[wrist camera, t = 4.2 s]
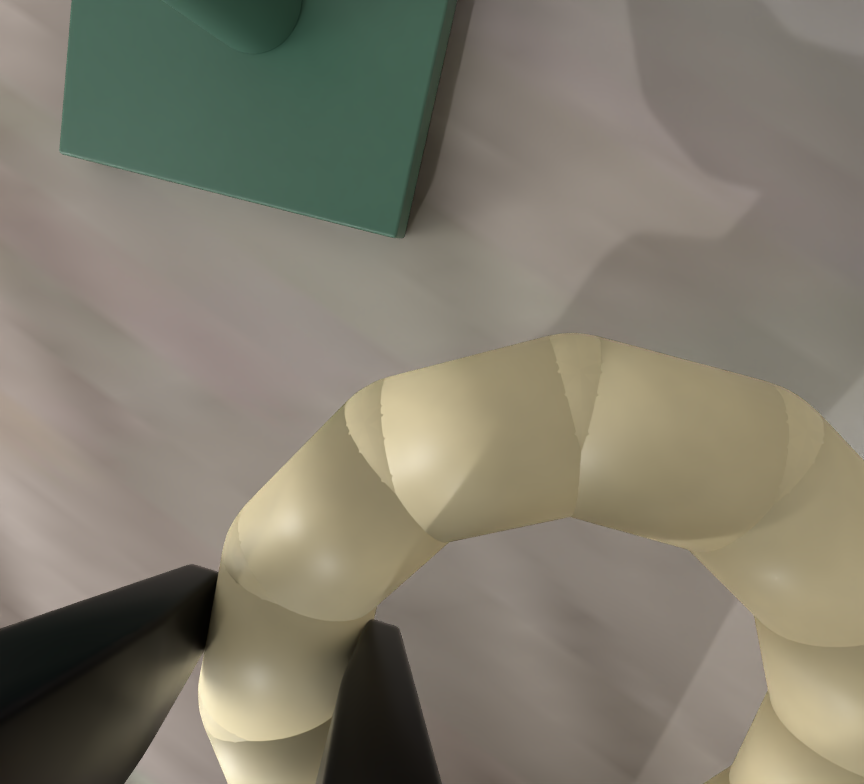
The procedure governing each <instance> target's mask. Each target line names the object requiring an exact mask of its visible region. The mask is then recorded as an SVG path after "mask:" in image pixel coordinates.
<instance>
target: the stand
mask: <svg viewBox="0 0 864 784" xmlns="http://www.w3.org/2000/svg"><path fill="white" fill-rule="evenodd" d="M456 3H457V0H72V3H71V15H70V27H69V40H68V52H67V64H66V76H65V89H64V101H63V113H62V125H61V138H60V150H59V151H60V153H62V154H63V155H67V156H71V157H75V158H79V159H83V160H87V161H91V162H95V163H99V164H103V165H107V166H111V167H115V168H119V169H123V170H127V171H131V172H135V173H139V174H143V175H147V176H150V177H154V178H158V179H162V180H166V181H170V182H174V183H178V184H182V185H186V186H190V187H194V188H198V189H202V190H206V191H210V192H214V193H218V194H222V195H226V196H230V197H234V198H237V199H241V200H245V201H249V202H253V203H257V204H261V205H265V206H269V207H273V208H277V209H281V210H285V211H289V212H293V213H297V214H301V215H305V216H309V217H313V218H317V219H320V220H324V221H328V222H332V223H336V224H340V225H344V226H348V227H352V228H356V229H360V230H364V231H368V232H372V233H376V234H380V235H384V236H388V237H392V238H404V236H405V232H406V227H407V223H408V218H409V214H410V209H411V205H412V201H413V196H414V192H415V187H416V183H417V178H418V174H419V169H420V165H421V160H422V156H423V151H424V147H425V142H426V138H427V133H428V129H429V124H430V120H431V115H432V111H433V106H434V102H435V98H436V93H437V89H438V84H439V80H440V75H441V71H442V66H443V62H444V57H445V53H446V48H447V44H448V39H449V35H450V30H451V26H452V21H453V17H454V12H455V8H456Z"/></svg>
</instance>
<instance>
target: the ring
mask: <svg viewBox="0 0 864 784" xmlns="http://www.w3.org/2000/svg"><path fill="white" fill-rule="evenodd" d="M567 517H573V518H576V519H580V520H583V521H587V522H591V523H594V524H598V525H601V526H605V527H608V528H612V529H616V530H619V531H623V532H626V533H630V534H634V535H637V536H641V537H644V538H648V539H652V540H655V541H659V542H662V543H666V544H670V545H673V546H677V547H680V548H684V549H688V550H689V551H690V552H691V553H692V554H693V555H694V556H695V557H696V558H697V559H698V560H699V561H700V562H701V563H702V564H703V565H704V566H705V567H706V568H707V569H708V570H709V571H710V572H711V573H712V574H713V575H714V576H715V577H716V578H717V579H718V580H719V581H720V582H721V583H722V584H723V585H724V586H725V587H726V588H727V589H728V590H729V591H730V592H731V593H732V594H733V595H734V596H735V597H736V598H737V599H738V600H739V601H740V602H741V603H742V604H743V605H744V606H745V607H746V608H747V609H748V610H749V611H750V612H751V613H752V614H753V615H754V618H755V624H756V629H757V634H758V639H759V645H760V650H761V655H762V661H763V666H764V671H765V676H766V682H767V687H768V691H767V693H766V695H765V697H764V699H763V701H762V703H761V706H760V708H759V710H758V712H757V714H756V716H755V718H754V720H753V722H752V724H751V727H750V729H749V731H748V733H747V735H746V737H745V739H744V741H743V743H742V745H741V748H740V750H739V752H738V754H737V756H736V758H735V760H734V762H733V764H732V765H731V766H730V767H728V768H727V769H725V770H724V771H722V772H721V773H719V774H718V775H716V776H715V777H713V778H711V779H710V780H708V781H707V782H705V783H704V784H864V460H863V459H862V458H861V457H860V456H859V455H858V454H857V453H856V452H855V451H854V450H853V449H852V448H851V446H850V445H849V444H848V443H847V442H846V441H845V440H844V439H843V438H842V437H841V436H840V435H839V434H838V433H837V432H836V431H835V430H834V428H833V427H832V426H831V425H830V424H829V423H828V422H827V421H826V420H825V419H824V418H823V417H822V416H821V415H820V414H819V413H818V412H817V411H816V410H815V409H814V408H813V407H812V406H811V405H810V404H808V403H807V402H806V401H805V400H803V399H802V398H800V397H799V396H798V395H796V394H794V393H793V392H791V391H789V390H788V389H785V388H783V387H781V386H778V385H775V384H772V383H769V382H767V381H763V380H760V379H756V378H752V377H748V376H745V375H741V374H737V373H733V372H730V371H726V370H722V369H718V368H715V367H711V366H707V365H703V364H700V363H696V362H692V361H688V360H685V359H681V358H677V357H673V356H670V355H666V354H662V353H658V352H655V351H651V350H647V349H643V348H640V347H636V346H632V345H628V344H625V343H621V342H617V341H613V340H610V339H606V338H602V337H598V336H592V335H588V334H580V333H563V334H555V335H550V336H546V337H542V338H538V339H534V340H530V341H526V342H522V343H518V344H515V345H511V346H507V347H503V348H499V349H495V350H491V351H487V352H483V353H480V354H476V355H472V356H468V357H464V358H460V359H456V360H452V361H448V362H445V363H441V364H437V365H433V366H429V367H425V368H421V369H417V370H413V371H410V372H406V373H402V374H398V375H394V376H390V377H387V378H384V379H381V380H378V381H376V382H373V383H372V384H370V385H368V386H366V387H365V388H363V389H361V390H360V391H359V392H357V393H356V394H354V395H353V396H352V397H351V398H350V399H349V400H348V401H347V402H346V403H345V404H344V405H343V406H342V407H341V408H340V409H339V410H338V411H337V412H336V413H335V414H334V415H333V416H332V417H331V418H330V419H329V420H328V421H327V422H326V423H325V424H324V425H323V426H322V427H321V428H320V429H319V430H318V431H317V432H316V433H315V434H314V435H313V436H312V437H311V438H310V439H309V440H308V441H307V442H306V444H305V445H304V446H303V447H302V448H301V449H300V450H299V451H298V452H297V453H296V454H295V455H294V456H293V457H292V458H291V459H290V460H289V461H288V462H287V463H286V464H285V465H284V466H283V467H282V468H281V469H280V470H279V471H278V472H277V473H276V474H275V475H274V476H273V477H272V478H271V479H270V480H269V481H268V482H267V483H266V484H265V485H264V486H263V487H262V488H261V489H260V490H259V491H258V492H257V494H256V495H255V496H254V497H253V498H252V499H251V500H250V501H249V502H248V503H247V504H246V505H245V506H244V507H243V509H242V510H241V511H240V512H239V514H238V515H237V517H236V518H235V520H234V521H233V523H232V525H231V527H230V529H229V530H228V533H227V536H226V539H225V543H224V547H223V551H222V556H221V562H220V567H219V573H218V578H217V584H216V590H215V595H214V601H213V606H212V612H211V617H210V623H209V628H208V634H207V640H206V645H205V651H204V656H203V662H202V667H201V673H200V678H199V685H198V700H199V710H200V714H201V718H202V721H203V724H204V727H205V730H206V732H207V734H208V737H209V739H210V742H211V744H212V746H213V749H214V751H215V754H216V756H217V758H218V761H219V763H220V766H221V768H222V770H223V773H224V775H225V778H226V780H227V782H228V784H315V783H316V779H317V775H318V771H319V767H320V763H321V759H322V756H323V752H324V748H325V744H326V740H327V736H328V732H329V728H330V724H331V720H332V716H333V712H334V708H335V704H336V700H337V696H338V692H339V688H340V684H341V680H342V678H343V675H344V672H345V669H346V667H347V665H348V663H349V660H350V658H351V656H352V654H353V651H354V649H355V647H356V645H357V642H358V640H359V638H360V636H361V633H362V631H363V629H364V627H365V625H366V623H367V622H368V621H369V620H371V619H374V616H375V613H376V609H377V605H379V604H380V603H381V602H382V601H383V600H384V599H385V598H386V597H388V596H389V595H390V594H391V593H392V592H393V591H394V590H396V589H397V588H398V587H399V586H400V585H401V584H402V583H403V582H405V581H406V580H407V579H408V578H409V577H410V576H411V575H413V574H414V573H415V572H416V571H417V570H418V569H419V568H420V567H422V566H423V565H424V564H425V563H426V562H427V561H428V560H430V559H431V558H432V557H433V556H434V555H435V554H436V553H437V552H439V551H440V550H441V549H442V548H443V547H444V546H445V545H447V544H448V543H449V542H452V541H456V540H461V539H466V538H471V537H476V536H480V535H485V534H490V533H495V532H500V531H505V530H509V529H514V528H519V527H524V526H529V525H533V524H538V523H543V522H548V521H553V520H558V519H562V518H567Z"/></svg>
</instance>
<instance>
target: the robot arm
mask: <svg viewBox="0 0 864 784" xmlns="http://www.w3.org/2000/svg"><path fill="white" fill-rule="evenodd" d="M218 573H219V572H217V571H214V570H210V569H207V568H204V567H201V566H198V565H193V564H190V565H186V566H183V567H180V568H177V569H174V570H171V571H169V572H166V573H163V574H160V575H157V576H154V577H151V578H148V579H145V580H142V581H139V582H136V583H133V584H130V585H127V586H124V587H121V588H118V589H116V590H113V591H110V592H107V593H104V594H101V595H98V596H95V597H92V598H89V599H86V600H83V601H80V602H77V603H74V604H71V605H68V606H65V607H63V608H60V609H57V610H54V611H51V612H48V613H45V614H42V615H39V616H36V617H33V618H30V619H27V620H24V621H21V622H18V623H15V624H12V625H9V626H7V627H4V628H1V629H0V784H124V783H125V782H126V780H127V779H128V777H129V776H130V775H131V773H132V772H133V770H134V769H135V767H136V766H137V764H138V763H139V761H140V760H141V758H142V757H143V755H144V754H145V752H146V750H147V749H148V747H149V745H150V744H151V742H152V740H153V739H154V737H155V735H156V734H157V732H158V730H159V728H160V727H161V725H162V723H163V721H164V720H165V718H166V716H167V714H168V713H169V711H170V709H171V707H172V706H173V704H174V702H175V700H176V699H177V697H178V695H179V694H180V692H181V690H182V688H183V687H184V685H185V683H186V681H187V680H188V678H189V676H190V674H191V673H192V671H193V669H194V667H195V666H196V664H197V662H198V661H199V659H200V657H201V655H202V654H203V652H204V650H205V645H206V640H207V634H208V628H209V623H210V617H211V612H212V606H213V601H214V595H215V590H216V584H217V578H218ZM315 784H442V783H441V779H440V775H439V772H438V768H437V764H436V761H435V757H434V753H433V750H432V746H431V742H430V739H429V735H428V731H427V728H426V724H425V720H424V717H423V713H422V709H421V706H420V702H419V698H418V695H417V691H416V687H415V684H414V680H413V676H412V673H411V669H410V665H409V662H408V658H407V654H406V651H405V647H404V643H403V640H402V636H401V633H400V630H399V628H398V627H396V626H394V625H390V624H387V623H384V622H380V621H377V620H374V619H371V620H369V621H368V622H367V623H366V625H365V627H364V629H363V631H362V633H361V636H360V638H359V640H358V642H357V645H356V647H355V649H354V651H353V654H352V656H351V658H350V660H349V663H348V665H347V667H346V669H345V672H344V675H343V678H342V680H341V684H340V688H339V692H338V696H337V700H336V704H335V708H334V712H333V716H332V720H331V724H330V728H329V732H328V736H327V740H326V744H325V748H324V752H323V756H322V759H321V763H320V767H319V771H318V775H317V779H316V783H315Z"/></svg>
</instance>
